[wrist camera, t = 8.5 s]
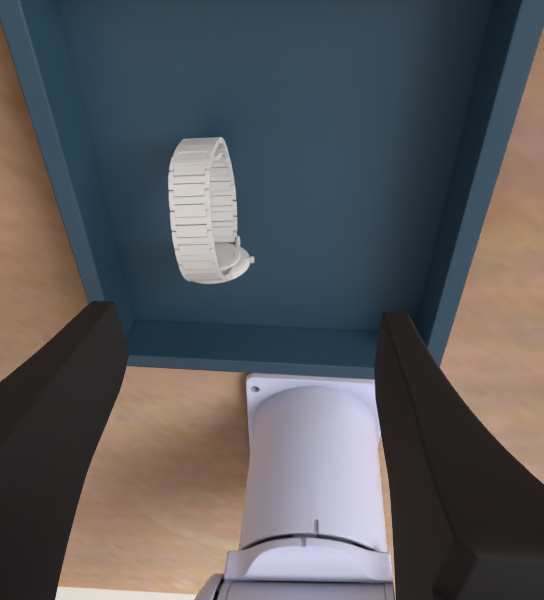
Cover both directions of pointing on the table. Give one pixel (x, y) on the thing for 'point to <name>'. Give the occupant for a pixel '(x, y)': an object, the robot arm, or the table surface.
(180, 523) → the table surface
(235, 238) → the wristwatch
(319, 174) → the tray
